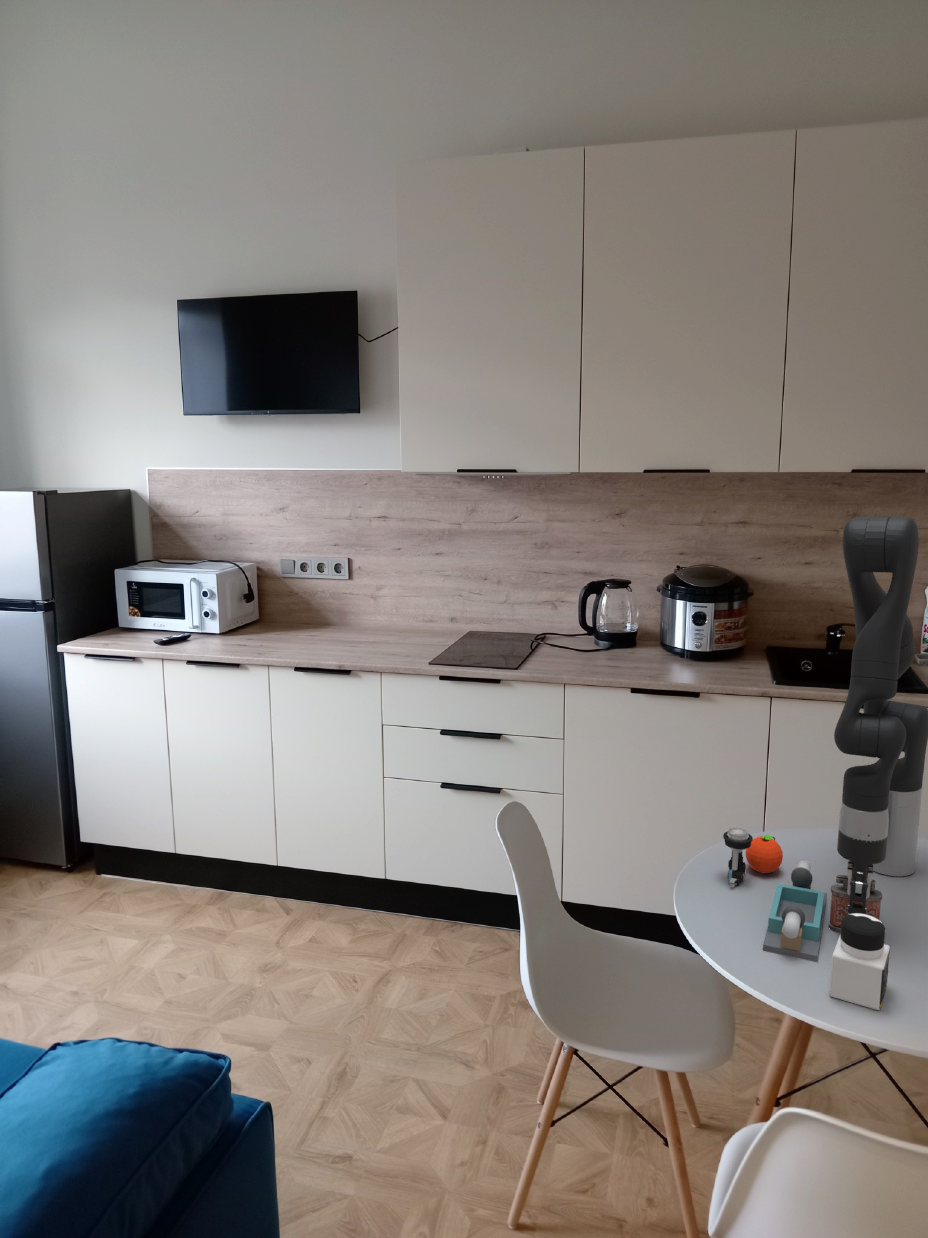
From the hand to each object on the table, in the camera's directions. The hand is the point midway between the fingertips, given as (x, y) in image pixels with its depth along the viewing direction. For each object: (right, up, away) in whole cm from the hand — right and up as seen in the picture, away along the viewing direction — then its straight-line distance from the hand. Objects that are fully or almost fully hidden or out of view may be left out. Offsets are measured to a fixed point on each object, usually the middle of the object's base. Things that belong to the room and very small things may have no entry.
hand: (856, 920), depth 153 cm
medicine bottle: (-7, -6, -16) cm, 18 cm away
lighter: (0, -2, +1) cm, 2 cm away
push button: (-15, +1, +18) cm, 24 cm away
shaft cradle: (-9, -2, +4) cm, 10 cm away
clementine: (-8, +2, +23) cm, 24 cm away
